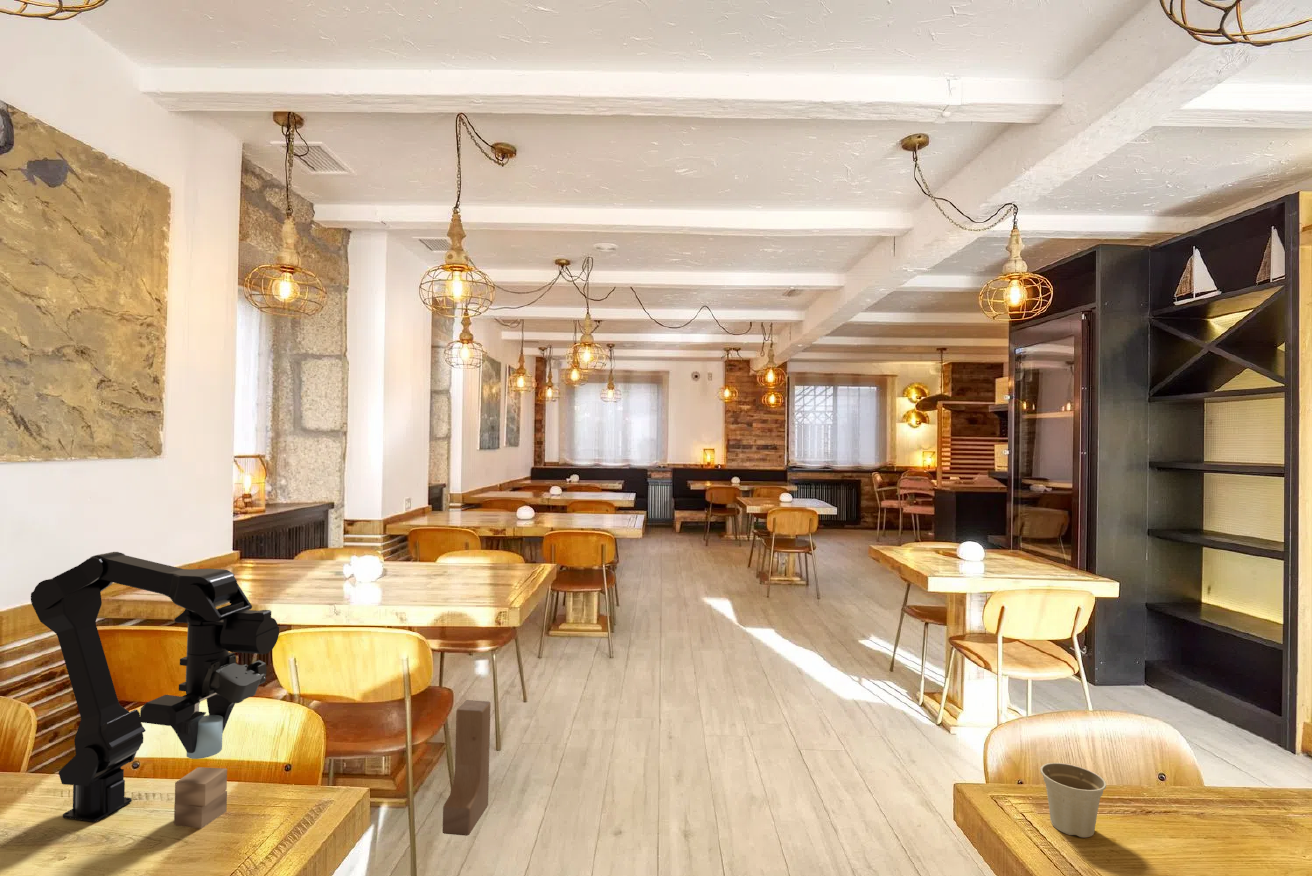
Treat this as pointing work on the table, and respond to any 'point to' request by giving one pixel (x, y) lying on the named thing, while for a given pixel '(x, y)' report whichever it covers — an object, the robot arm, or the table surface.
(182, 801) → the upper block
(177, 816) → the lower block
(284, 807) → the table surface
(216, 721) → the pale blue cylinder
